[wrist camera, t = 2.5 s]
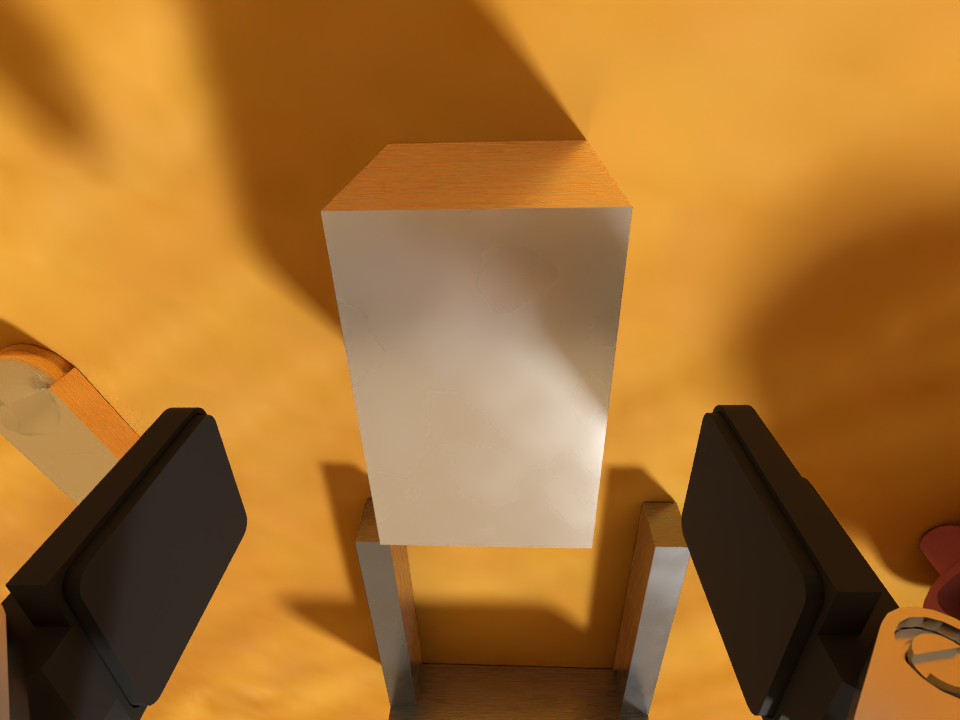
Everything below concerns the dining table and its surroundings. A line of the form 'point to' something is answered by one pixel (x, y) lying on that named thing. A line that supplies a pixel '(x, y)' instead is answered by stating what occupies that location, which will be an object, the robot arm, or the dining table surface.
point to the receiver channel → (528, 690)
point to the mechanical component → (944, 569)
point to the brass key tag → (59, 420)
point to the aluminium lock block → (481, 336)
